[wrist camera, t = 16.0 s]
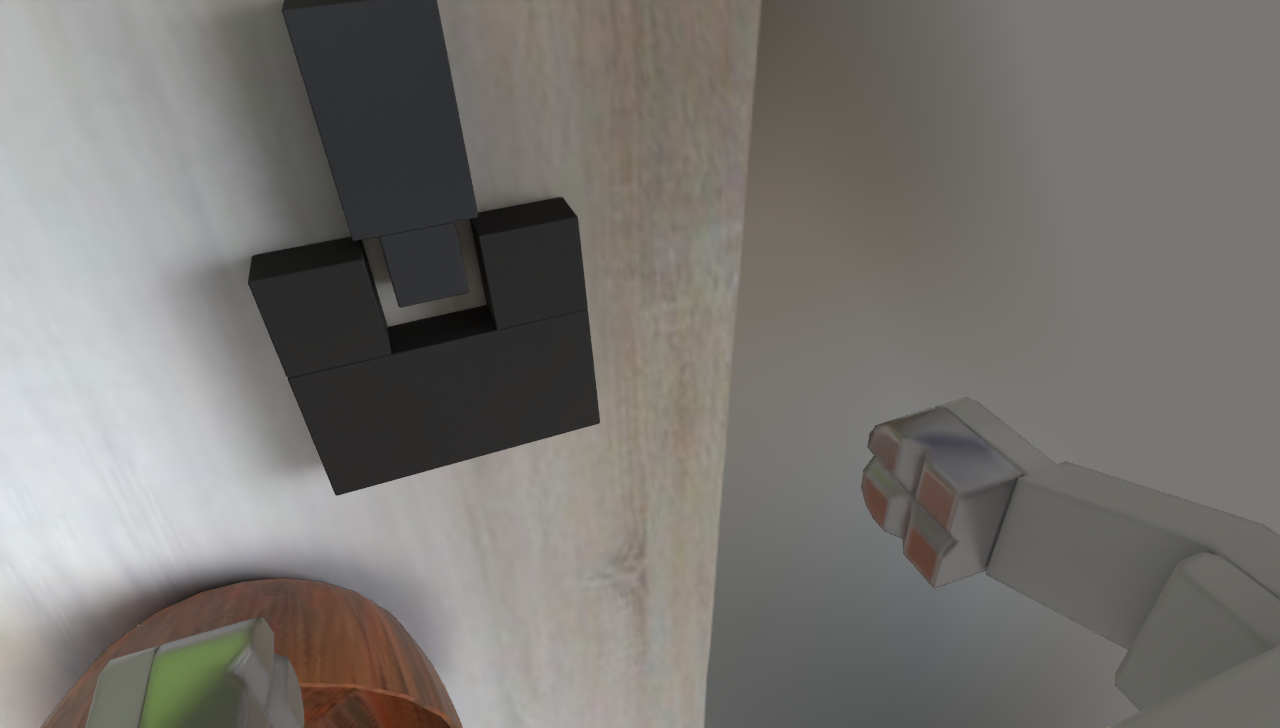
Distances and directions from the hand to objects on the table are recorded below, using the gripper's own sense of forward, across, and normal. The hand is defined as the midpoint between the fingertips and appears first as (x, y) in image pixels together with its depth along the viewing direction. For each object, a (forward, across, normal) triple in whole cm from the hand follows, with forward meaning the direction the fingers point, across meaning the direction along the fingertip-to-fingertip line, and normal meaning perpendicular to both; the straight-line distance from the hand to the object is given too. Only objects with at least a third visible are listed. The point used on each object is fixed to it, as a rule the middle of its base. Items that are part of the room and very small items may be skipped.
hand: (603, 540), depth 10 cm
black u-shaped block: (+31, +1, +15) cm, 35 cm away
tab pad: (+31, +1, +4) cm, 31 cm away
